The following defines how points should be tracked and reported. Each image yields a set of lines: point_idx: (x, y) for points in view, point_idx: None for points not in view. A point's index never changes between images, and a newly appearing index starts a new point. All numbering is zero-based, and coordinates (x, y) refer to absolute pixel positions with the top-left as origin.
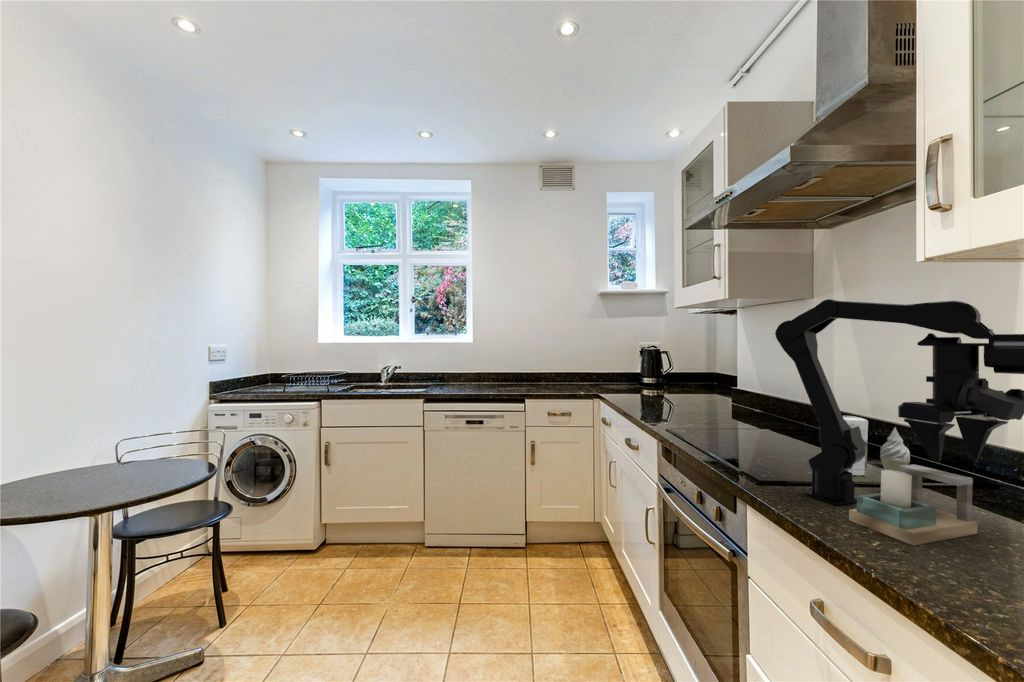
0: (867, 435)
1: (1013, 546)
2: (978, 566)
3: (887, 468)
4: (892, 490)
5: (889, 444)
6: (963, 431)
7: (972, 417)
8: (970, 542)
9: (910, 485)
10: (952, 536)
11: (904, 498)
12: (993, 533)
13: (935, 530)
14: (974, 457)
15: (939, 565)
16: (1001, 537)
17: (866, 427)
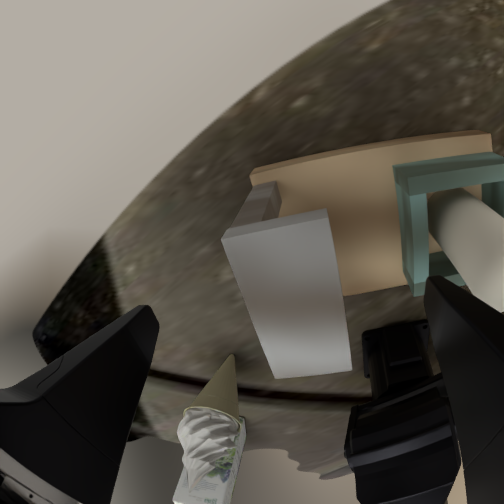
0: (181, 475)
1: (240, 102)
2: (434, 34)
3: (237, 404)
4: None
5: (217, 455)
6: (115, 442)
7: (49, 490)
8: (329, 123)
9: (494, 226)
10: (353, 147)
11: (490, 208)
12: (210, 170)
13: (423, 140)
14: (151, 313)
15: (498, 60)
16: (214, 149)
17: (179, 489)
